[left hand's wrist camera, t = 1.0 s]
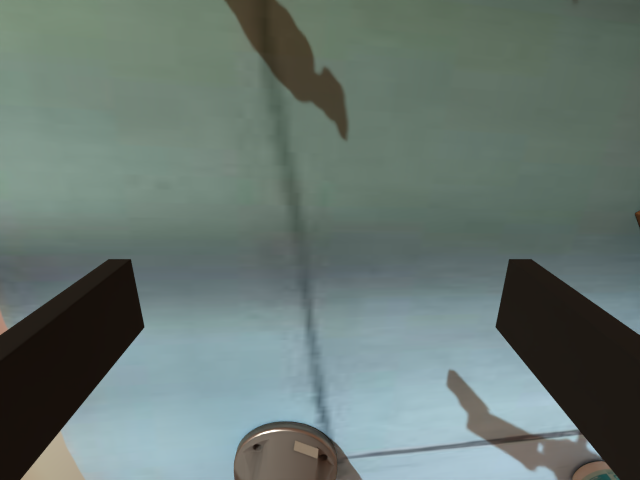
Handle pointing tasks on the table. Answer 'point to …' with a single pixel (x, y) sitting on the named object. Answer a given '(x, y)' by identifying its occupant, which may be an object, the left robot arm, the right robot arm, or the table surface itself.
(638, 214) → the bar
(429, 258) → the table surface
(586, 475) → the pill bottle
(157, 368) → the table surface
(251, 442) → the left robot arm
